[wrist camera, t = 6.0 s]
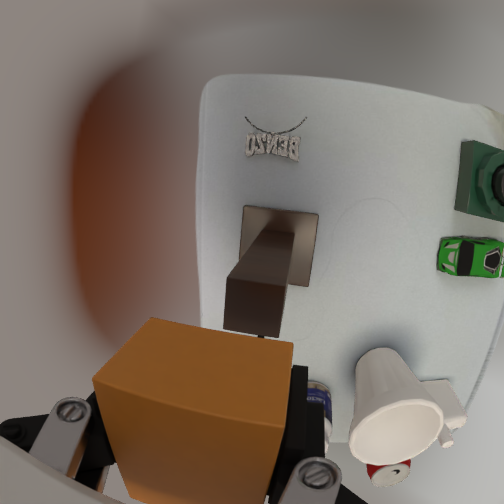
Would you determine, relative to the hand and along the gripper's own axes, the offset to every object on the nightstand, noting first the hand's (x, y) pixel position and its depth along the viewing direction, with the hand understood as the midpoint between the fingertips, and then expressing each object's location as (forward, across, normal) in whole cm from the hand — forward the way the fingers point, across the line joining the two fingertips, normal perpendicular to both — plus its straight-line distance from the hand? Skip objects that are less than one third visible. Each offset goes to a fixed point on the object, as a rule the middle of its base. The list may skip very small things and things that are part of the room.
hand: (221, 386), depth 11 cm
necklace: (+25, +2, -11) cm, 28 cm away
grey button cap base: (+25, -24, -10) cm, 36 cm away
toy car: (+25, -24, -1) cm, 35 cm away
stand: (+25, 0, +1) cm, 25 cm away
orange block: (-1, 0, 0) cm, 1 cm away
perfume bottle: (+25, -23, +18) cm, 38 cm away
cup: (+25, -15, +15) cm, 33 cm away
